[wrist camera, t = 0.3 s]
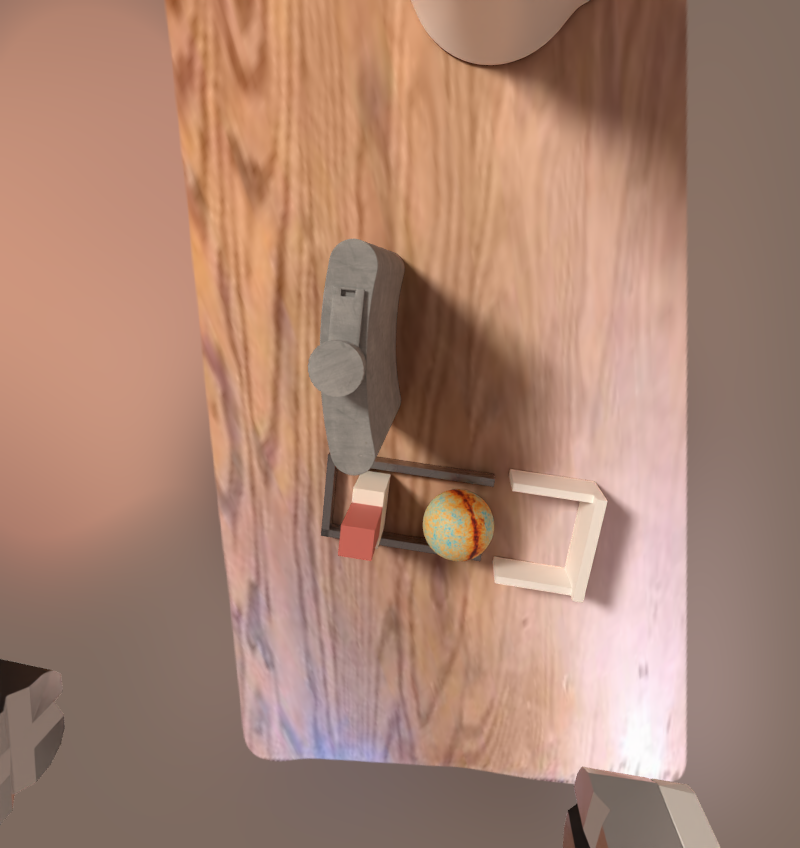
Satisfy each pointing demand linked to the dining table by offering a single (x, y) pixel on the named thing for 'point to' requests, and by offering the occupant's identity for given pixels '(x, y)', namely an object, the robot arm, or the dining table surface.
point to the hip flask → (358, 352)
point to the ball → (458, 525)
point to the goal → (582, 540)
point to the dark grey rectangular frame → (400, 467)
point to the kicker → (365, 516)
